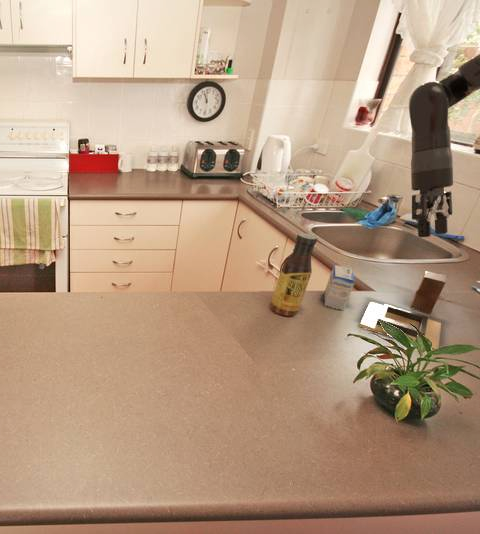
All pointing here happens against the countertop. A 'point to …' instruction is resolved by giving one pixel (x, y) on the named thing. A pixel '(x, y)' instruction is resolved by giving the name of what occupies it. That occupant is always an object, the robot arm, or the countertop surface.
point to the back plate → (401, 322)
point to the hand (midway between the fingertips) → (433, 235)
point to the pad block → (428, 292)
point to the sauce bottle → (294, 277)
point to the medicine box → (339, 287)
